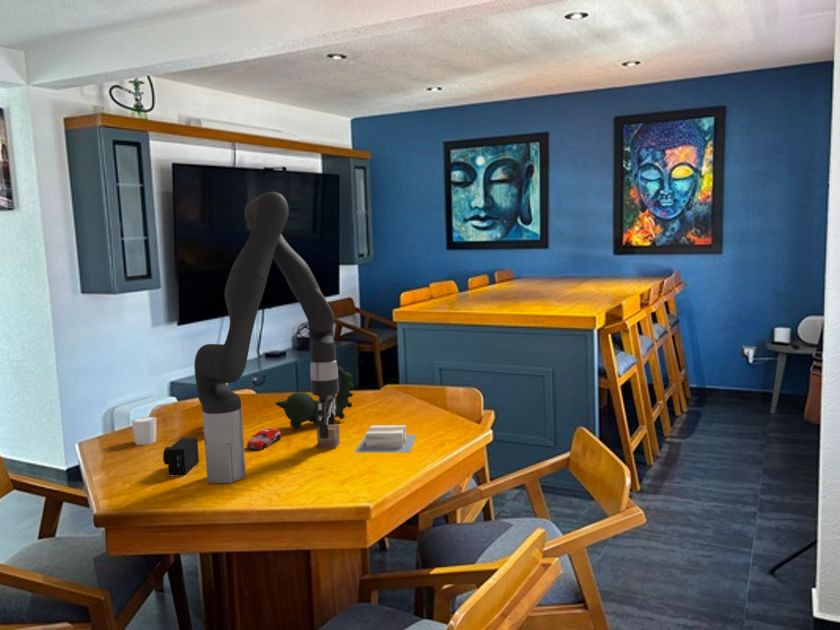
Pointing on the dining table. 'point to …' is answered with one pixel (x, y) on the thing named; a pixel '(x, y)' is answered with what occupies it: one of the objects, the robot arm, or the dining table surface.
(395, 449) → the mat
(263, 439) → the race car
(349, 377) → the toy figurine
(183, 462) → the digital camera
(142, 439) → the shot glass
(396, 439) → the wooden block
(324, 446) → the walnut block
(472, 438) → the dining table surface
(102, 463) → the dining table surface
